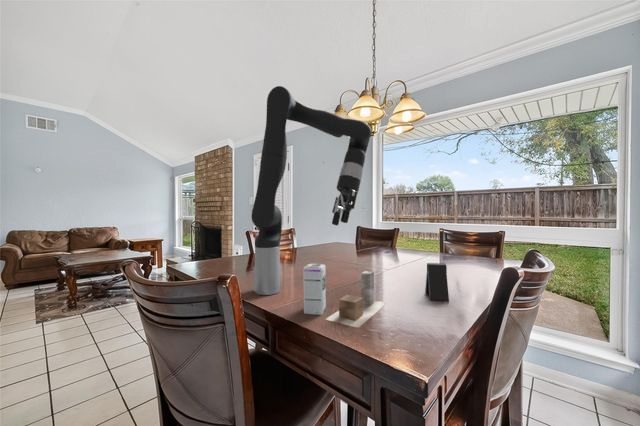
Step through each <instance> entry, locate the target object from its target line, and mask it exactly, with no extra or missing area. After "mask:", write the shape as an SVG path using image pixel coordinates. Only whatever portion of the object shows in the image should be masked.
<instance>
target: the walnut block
mask: <svg viewBox="0 0 640 426" xmlns="http://www.w3.org/2000/svg"><path fill="white" fill-rule="evenodd" d="M338 302H339V303H338V311H339V317H341V318H345V319H349V320H353V321H356V320H357V319H358V318H360V317H361V316H362V315H363V298H362V297H361V296H356V295H351V294H346V295H344V296H342V297H341V298H339V300H338Z"/></svg>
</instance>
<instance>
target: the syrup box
mask: <svg viewBox="0 0 640 426" xmlns="http://www.w3.org/2000/svg"><path fill="white" fill-rule="evenodd" d="M326 267H327V266H326V264H324V263H308V264H307V265H306V266H304V267H303V269H302V270H303V273H302V274H303V276H302V277H303V279H302V280H303V285H302V286H303V313H304V314H305V315H306V314H309V315H318V316H322V315H324V313H325V312H326V309H327V288H326V287H327V282H326V281H327V280H326V278H327V276H326V273H327V272H326V271H327V270H326Z"/></svg>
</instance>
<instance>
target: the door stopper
mask: <svg viewBox="0 0 640 426" xmlns="http://www.w3.org/2000/svg"><path fill="white" fill-rule="evenodd" d="M447 271H448V269H447V264H446V263H442V262H441V263H439V262H438V263H437V262H436V263H435V262H427V263H426V277H425V289H424V293H425V295H426V297H427V298H428V299H429V300H430V302H431V301H433V302H435V301H436V302H448V301H449V302H450V298H449V297H450V294H449V285H448V275H447V274H448V273H447Z"/></svg>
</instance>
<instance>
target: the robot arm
mask: <svg viewBox="0 0 640 426" xmlns="http://www.w3.org/2000/svg"><path fill="white" fill-rule="evenodd" d="M292 95H293V94H292V93H291V92H290V91H289V90H288V89H287V88H286V87H284V86H280V85H279V86H275V87H273V88H272V89H271V90H270V92H269V93H268V95H267V98H266V121H265V130H264V136H263V143H262V150H261V157H260V163H259V164H260V165H259V173H258V181H257V187H256V188H257V189H256V195H255V197H254V202H253V206H252V210H251V221H252V223H253V225H254V226H255V227H256V228H258V234H257V236H256V237H255V239H254V265H253V268H252V292H254V293H255V294H257V295H259V296H260V295H261V296H270V295H276V294H278V293H280V291H281V288H280V287H281V286H280V283H281V279H280V278H281V269H280V268H281V267H280V266H281V265H280V264H281V259H280V257H281V255H280V253H281V250H280V249H281V246H280V245H281V244H280V243H281V239H282V230H283V229H282V228H283V216H282V211H281V209H280V207H278V206H277V205H275V204H276V197H277V191H278V188H279V186H280V183H281V182H282V179H283V177H284V175H285V174H284V173H285V170H286V166H287V159H288V145H287V142H288V141H287V134H286V131H287V130H286V127H287V121H291V122H292V121H293V122H296V123H301V124H303V125H306V126H309V127H311V128H314V129H317V130H319V131H321V132H323V133H325V134H328V135H330V136H332V137H336V138H339V139H340V138H342V137H343V136H344V137H345V136H346V137H349V141H348V142H349V143H348V147H347V151H346V153H345V156H344V159H343V164H342V167H341V168H340V172H339V176H338V179H337V185H336V190H337V191H338V192H339V195H338V196H336V197H335V200H334V205H333V208H332V211H331V212H332V213H333V217H332V221H331V225H334V226H338V225H339V223H340V222H341V223H344V224H347V223H348V221H349V217H350V213H351V212H352V210H354V209H355V207H356V206H355V205H356V200H357V195H358V193H359V190H360V186H361V181H362V176H363V170H364V165H365V161H366V152H367V150H368V146H369V143H370V139H371V135H372V129H371V127H370V125H369V124H368V123H366V122H364V121H363V120H359V119H351V118H346V117H345V118H343V117H341V116H339V115H338V114H334V113H333V112H332V113H331V112H330V111H329V112H328V111H326V110H321V109H314V108H312V107H311V108H310V107H307V106H305V105H304V104H301V103H300V102H299V101H297V100H295V98H294V97H293V96H292Z"/></svg>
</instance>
